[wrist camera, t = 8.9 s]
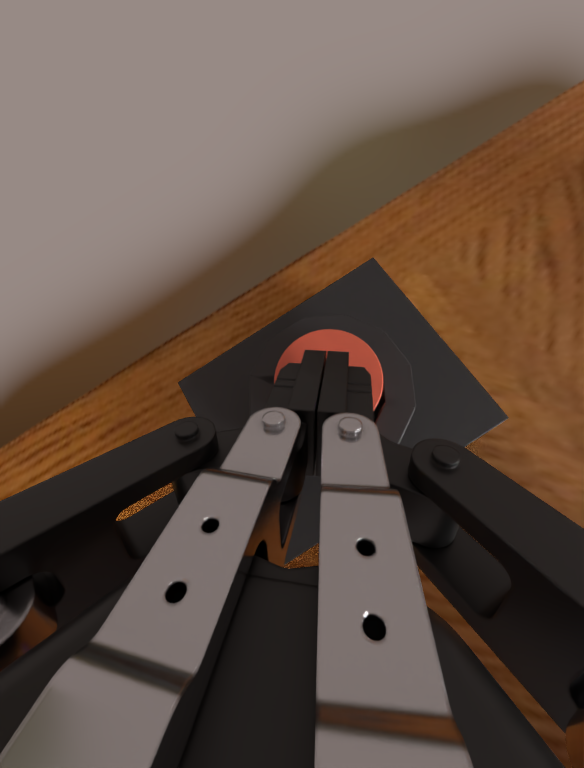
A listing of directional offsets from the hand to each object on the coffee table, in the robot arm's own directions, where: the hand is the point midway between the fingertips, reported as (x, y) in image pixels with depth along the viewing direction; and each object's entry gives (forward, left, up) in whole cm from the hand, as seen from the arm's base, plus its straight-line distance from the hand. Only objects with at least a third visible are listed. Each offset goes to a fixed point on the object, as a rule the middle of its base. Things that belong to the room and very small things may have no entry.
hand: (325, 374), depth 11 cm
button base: (0, 0, -10) cm, 10 cm away
